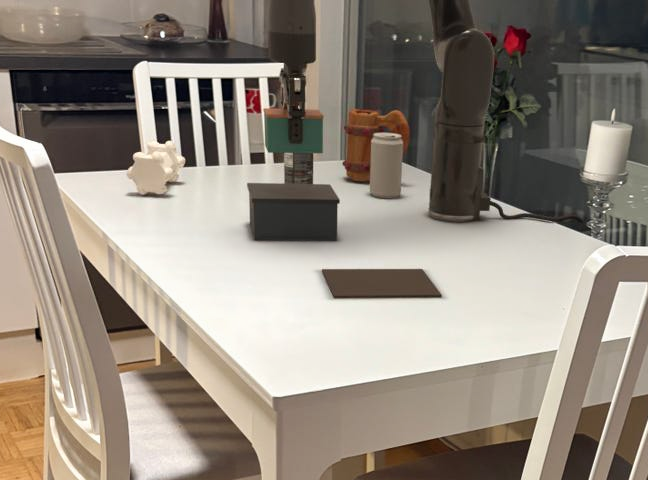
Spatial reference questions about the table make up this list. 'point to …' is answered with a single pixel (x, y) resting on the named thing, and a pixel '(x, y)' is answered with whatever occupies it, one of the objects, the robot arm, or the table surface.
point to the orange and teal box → (279, 132)
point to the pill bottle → (298, 168)
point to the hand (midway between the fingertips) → (293, 139)
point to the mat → (379, 283)
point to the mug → (369, 139)
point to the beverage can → (386, 165)
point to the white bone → (155, 167)
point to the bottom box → (293, 211)
